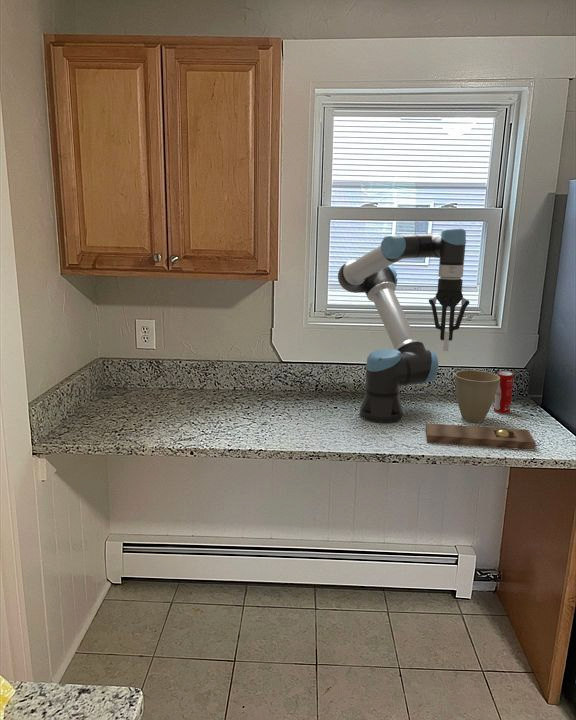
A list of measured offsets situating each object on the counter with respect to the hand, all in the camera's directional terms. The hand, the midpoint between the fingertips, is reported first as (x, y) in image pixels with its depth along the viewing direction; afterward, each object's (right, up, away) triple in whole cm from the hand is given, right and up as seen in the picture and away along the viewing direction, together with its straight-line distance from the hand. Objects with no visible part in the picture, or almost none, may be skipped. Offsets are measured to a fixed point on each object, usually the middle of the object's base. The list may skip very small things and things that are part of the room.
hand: (445, 349), depth 190 cm
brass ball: (+16, -27, -8) cm, 32 cm away
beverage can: (+26, -22, +20) cm, 40 cm away
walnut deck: (+9, -29, -6) cm, 31 cm away
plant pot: (+13, -24, +13) cm, 31 cm away
